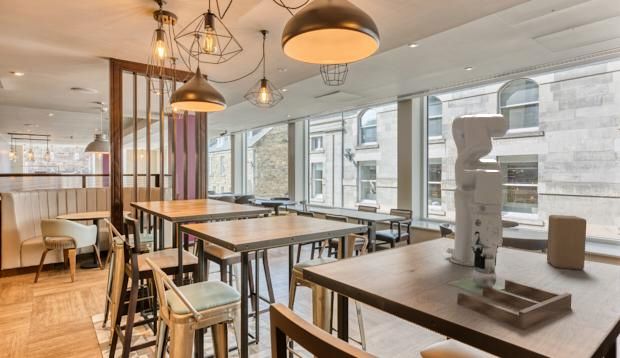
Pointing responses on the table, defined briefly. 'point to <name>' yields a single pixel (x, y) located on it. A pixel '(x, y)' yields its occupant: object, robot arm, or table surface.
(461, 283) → the mat
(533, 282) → the table surface
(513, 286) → the bottle rack
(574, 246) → the block
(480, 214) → the robot arm
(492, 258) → the plastic bottle
